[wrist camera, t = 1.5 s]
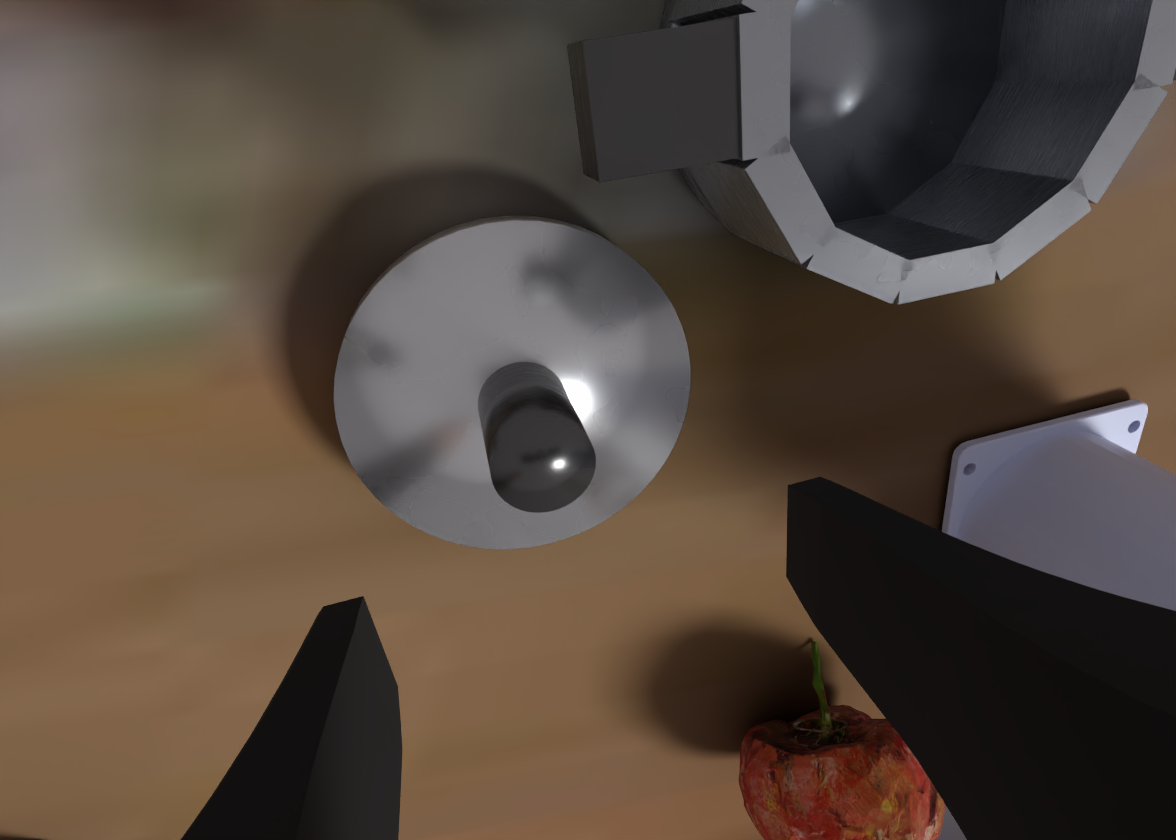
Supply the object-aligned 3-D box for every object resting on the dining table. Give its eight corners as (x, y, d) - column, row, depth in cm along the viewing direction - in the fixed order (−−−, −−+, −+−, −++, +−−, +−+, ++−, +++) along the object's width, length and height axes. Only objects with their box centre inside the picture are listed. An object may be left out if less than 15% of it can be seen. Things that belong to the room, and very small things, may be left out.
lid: (679, 476, 23) (747, 577, 18) (393, 546, 21) (387, 674, 17) (655, 179, 18) (737, 212, 14) (290, 245, 17) (243, 306, 12)
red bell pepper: (695, 639, 29) (708, 896, 27) (812, 659, 23) (840, 1000, 21) (828, 629, 32) (848, 861, 30) (966, 645, 26) (1004, 942, 24)
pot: (1172, 179, 22) (1362, 203, 17) (574, 300, 19) (622, 364, 15) (1280, -232, 17) (1576, -340, 13) (508, -150, 14) (549, -251, 10)
